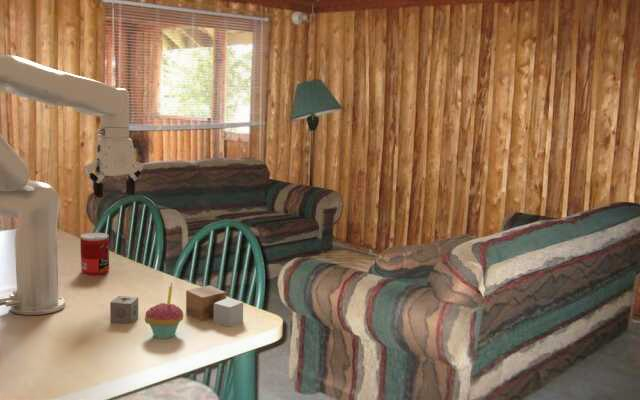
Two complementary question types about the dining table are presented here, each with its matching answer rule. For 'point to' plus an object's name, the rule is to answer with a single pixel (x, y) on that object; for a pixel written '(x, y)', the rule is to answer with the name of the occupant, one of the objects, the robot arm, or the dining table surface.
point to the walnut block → (203, 301)
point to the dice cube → (124, 309)
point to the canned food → (94, 253)
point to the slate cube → (228, 312)
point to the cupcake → (164, 318)
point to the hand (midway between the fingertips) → (114, 195)
